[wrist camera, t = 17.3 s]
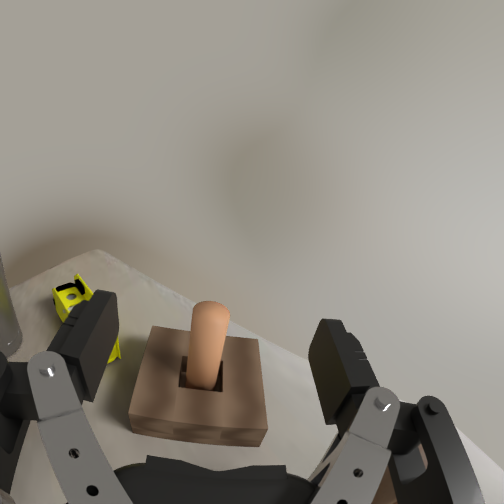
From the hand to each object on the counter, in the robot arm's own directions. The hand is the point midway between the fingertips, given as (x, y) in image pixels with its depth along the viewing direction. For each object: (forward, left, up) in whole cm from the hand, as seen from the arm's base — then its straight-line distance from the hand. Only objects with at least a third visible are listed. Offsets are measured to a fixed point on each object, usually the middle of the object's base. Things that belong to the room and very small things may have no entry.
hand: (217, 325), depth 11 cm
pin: (0, +17, -27) cm, 31 cm away
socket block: (0, +17, -28) cm, 33 cm away
